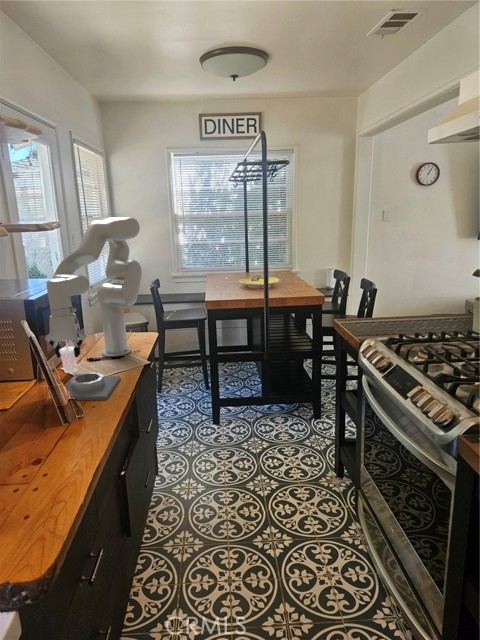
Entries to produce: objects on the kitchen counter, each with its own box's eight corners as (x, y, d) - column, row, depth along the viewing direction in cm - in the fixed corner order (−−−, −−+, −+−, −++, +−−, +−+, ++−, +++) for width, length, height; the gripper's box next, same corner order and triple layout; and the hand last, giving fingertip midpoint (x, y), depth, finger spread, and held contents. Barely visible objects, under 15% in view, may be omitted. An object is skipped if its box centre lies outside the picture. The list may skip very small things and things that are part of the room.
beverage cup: (60, 374, 156) (55, 339, 152) (64, 368, 162) (59, 334, 158) (77, 373, 157) (72, 338, 153) (80, 367, 163) (75, 333, 159)
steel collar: (78, 380, 151) (78, 372, 150) (107, 379, 151) (106, 372, 150) (67, 392, 141) (66, 384, 140) (98, 391, 141) (97, 383, 140)
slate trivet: (72, 379, 155) (72, 376, 154) (120, 378, 155) (120, 375, 155) (52, 400, 137) (52, 397, 137) (106, 399, 138) (106, 396, 137)
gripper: (88, 308, 156) (94, 352, 161) (43, 309, 156) (50, 353, 161) (81, 313, 149) (87, 359, 154) (33, 314, 149) (41, 360, 154)
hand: (68, 356), depth 158 cm, fingers closed on beverage cup, 6 cm apart
